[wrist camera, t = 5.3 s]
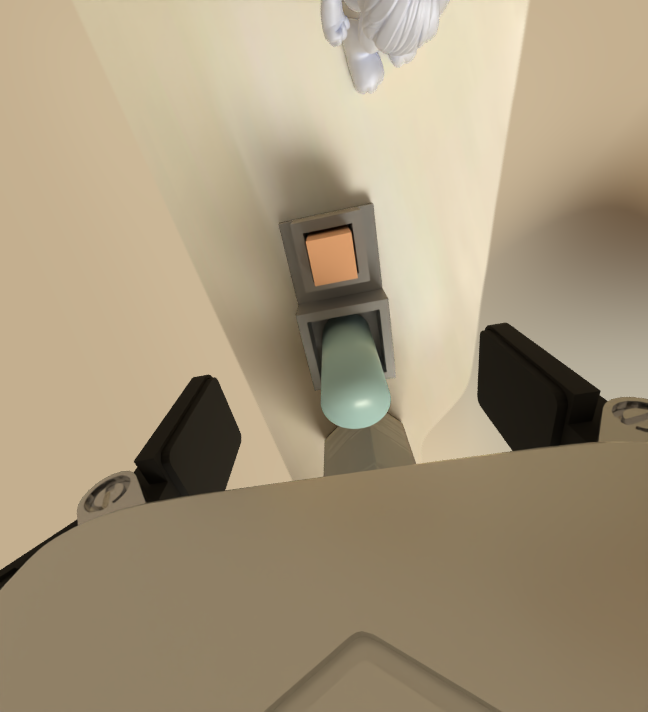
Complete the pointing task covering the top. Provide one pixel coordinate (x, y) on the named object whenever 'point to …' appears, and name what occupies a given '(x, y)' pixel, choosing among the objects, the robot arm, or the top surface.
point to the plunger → (331, 255)
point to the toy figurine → (379, 33)
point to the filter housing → (339, 285)
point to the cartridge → (352, 374)
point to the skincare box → (367, 448)
